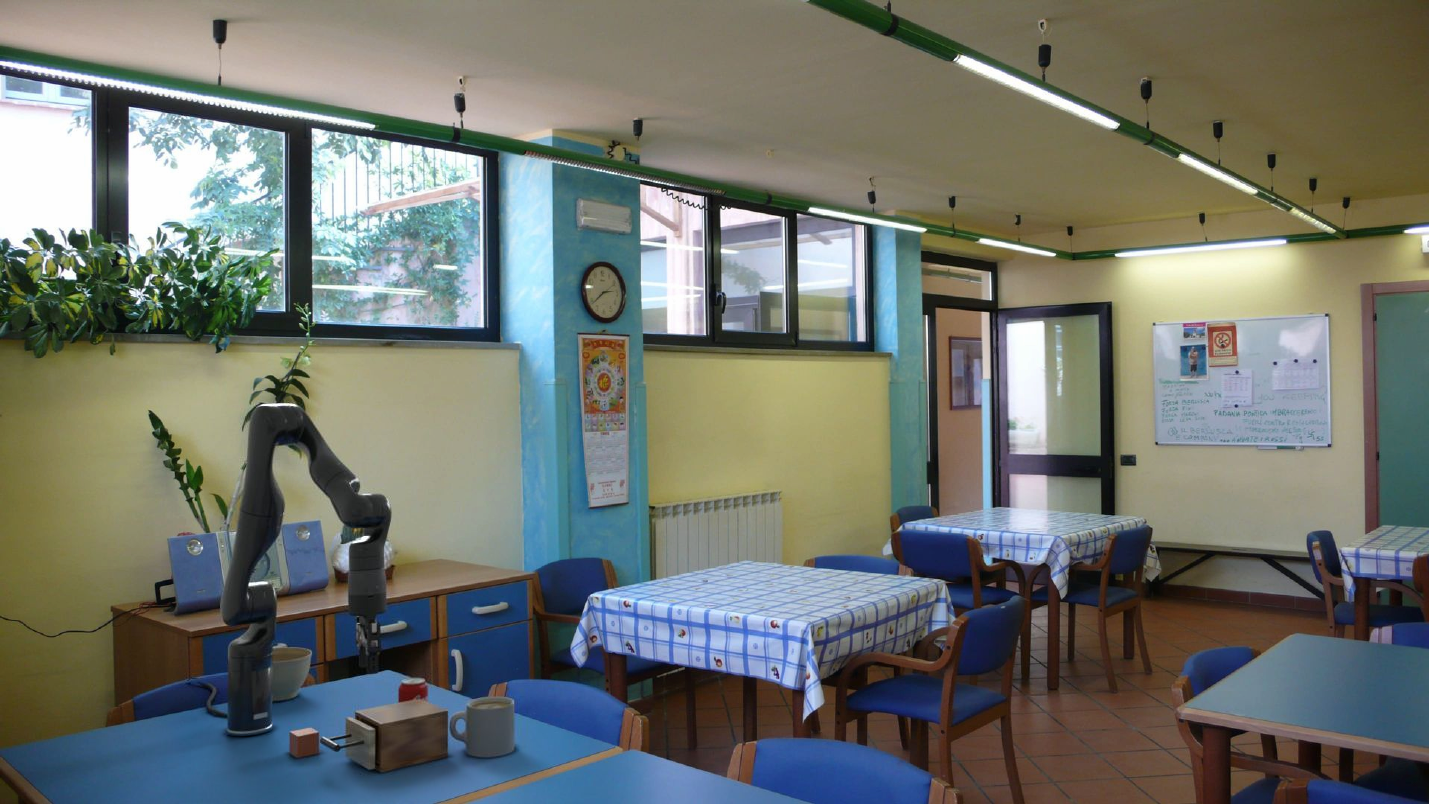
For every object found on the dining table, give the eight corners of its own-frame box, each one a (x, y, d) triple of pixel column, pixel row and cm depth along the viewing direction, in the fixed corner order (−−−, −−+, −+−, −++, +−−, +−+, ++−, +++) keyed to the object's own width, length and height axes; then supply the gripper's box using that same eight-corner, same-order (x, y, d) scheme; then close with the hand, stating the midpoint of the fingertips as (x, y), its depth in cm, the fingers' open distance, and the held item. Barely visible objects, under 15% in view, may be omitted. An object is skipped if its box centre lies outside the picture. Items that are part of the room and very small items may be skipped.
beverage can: (419, 739, 228) (419, 684, 229) (392, 737, 230) (393, 683, 230) (432, 731, 235) (432, 677, 235) (406, 729, 236) (407, 676, 236)
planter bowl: (228, 704, 256) (228, 660, 257) (266, 687, 272) (267, 646, 273) (288, 707, 254) (288, 662, 254) (323, 690, 270) (324, 648, 270)
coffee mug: (519, 743, 226) (519, 697, 226) (506, 758, 216) (507, 709, 216) (459, 741, 227) (459, 695, 227) (443, 756, 217) (444, 708, 217)
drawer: (338, 777, 202) (338, 736, 202) (315, 762, 210) (315, 723, 210) (432, 755, 215) (432, 717, 215) (406, 742, 223) (407, 706, 224)
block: (289, 753, 219) (289, 731, 219) (310, 748, 222) (310, 727, 222) (297, 758, 216) (297, 736, 216) (318, 753, 219) (319, 732, 219)
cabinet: (381, 772, 207) (381, 724, 207) (354, 757, 216) (354, 711, 216) (447, 756, 217) (448, 710, 217) (419, 743, 226) (420, 698, 226)
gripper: (342, 589, 219) (343, 667, 218) (354, 595, 207) (355, 678, 206) (379, 586, 223) (380, 662, 222) (393, 592, 210) (394, 673, 210)
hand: (368, 670), depth 214 cm, fingers open, 8 cm apart
